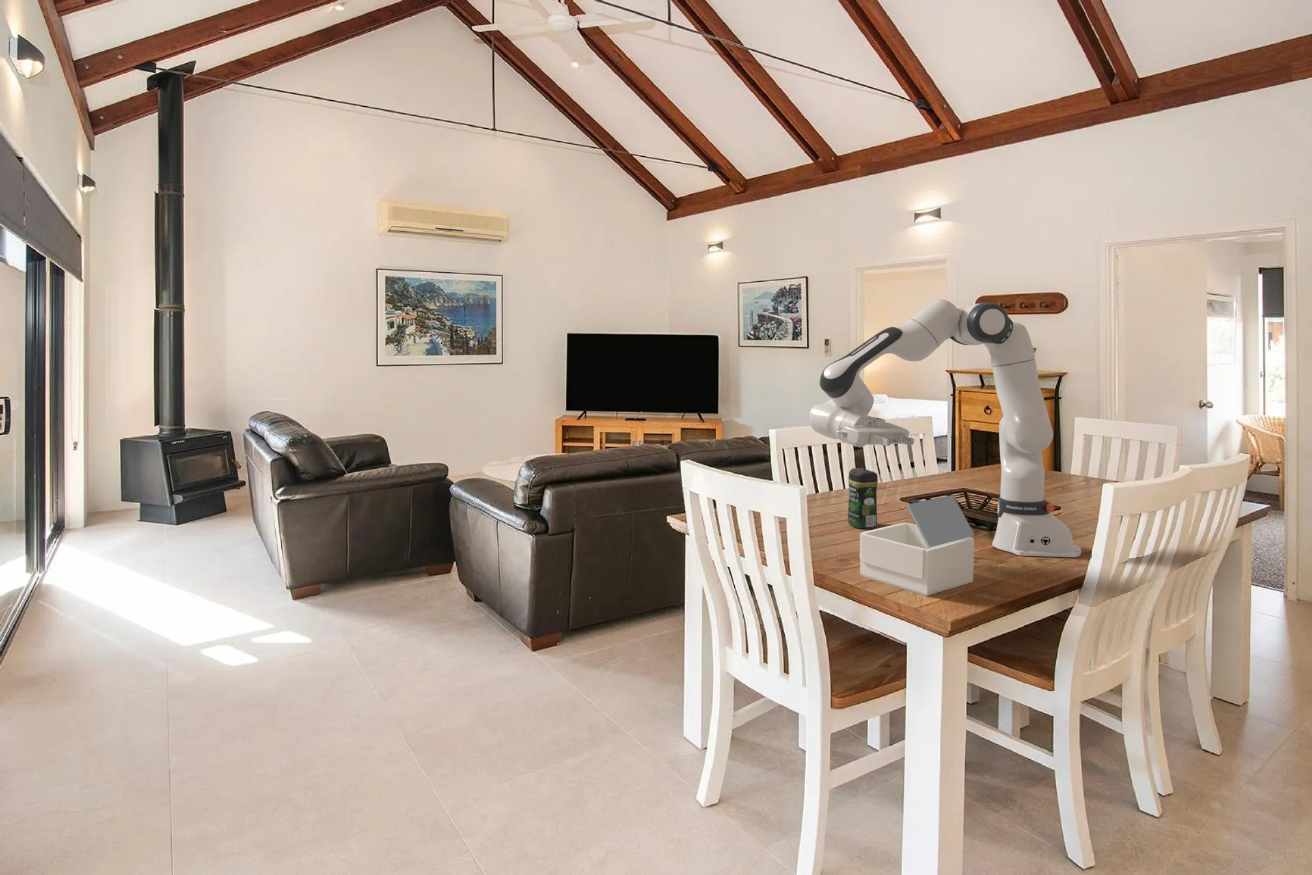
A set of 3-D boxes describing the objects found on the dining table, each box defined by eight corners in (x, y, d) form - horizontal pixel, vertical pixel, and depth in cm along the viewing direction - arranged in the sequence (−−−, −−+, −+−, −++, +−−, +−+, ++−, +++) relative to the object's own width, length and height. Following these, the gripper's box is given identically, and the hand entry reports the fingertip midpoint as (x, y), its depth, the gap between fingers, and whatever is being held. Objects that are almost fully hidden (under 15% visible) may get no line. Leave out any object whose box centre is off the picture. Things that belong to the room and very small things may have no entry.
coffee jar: (843, 523, 251) (844, 466, 248) (866, 521, 252) (867, 465, 250) (857, 530, 241) (858, 471, 239) (880, 528, 243) (882, 470, 241)
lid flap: (906, 505, 183) (908, 504, 182) (951, 495, 192) (953, 494, 192) (928, 548, 179) (930, 547, 178) (972, 536, 188) (974, 535, 188)
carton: (856, 575, 196) (857, 533, 195) (905, 562, 207) (906, 522, 206) (925, 597, 179) (926, 551, 178) (974, 581, 190) (975, 537, 189)
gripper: (834, 418, 200) (876, 430, 189) (884, 418, 211) (927, 430, 200) (830, 441, 201) (871, 455, 190) (880, 440, 213) (922, 453, 202)
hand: (900, 442), depth 195 cm, fingers open, 8 cm apart
